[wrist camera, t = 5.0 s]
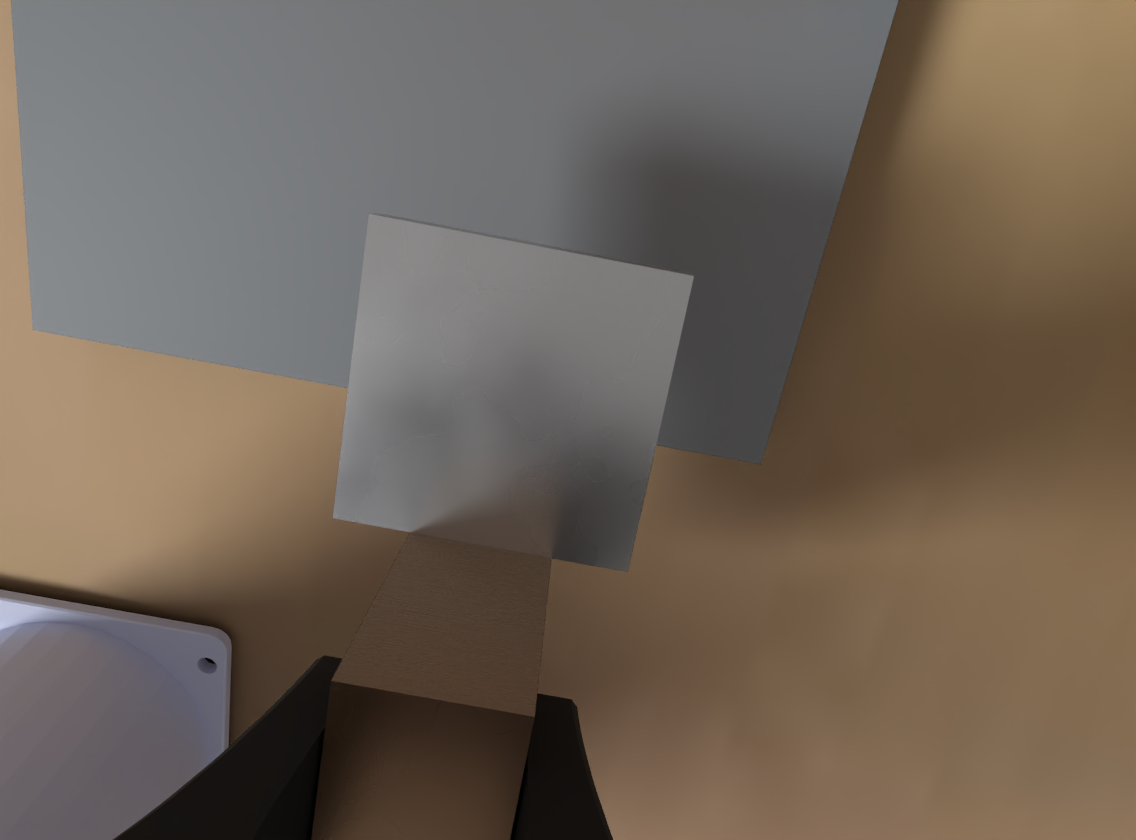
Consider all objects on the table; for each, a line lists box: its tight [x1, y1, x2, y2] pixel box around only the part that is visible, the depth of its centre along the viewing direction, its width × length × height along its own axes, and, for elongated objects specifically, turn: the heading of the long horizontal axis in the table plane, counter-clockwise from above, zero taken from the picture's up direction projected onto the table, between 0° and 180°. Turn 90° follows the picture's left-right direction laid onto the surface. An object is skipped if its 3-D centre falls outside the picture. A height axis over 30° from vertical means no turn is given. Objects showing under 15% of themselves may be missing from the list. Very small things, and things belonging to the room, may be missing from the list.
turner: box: [311, 213, 694, 840], centre depth 12 cm, size 9×5×5 cm, turn 170°
